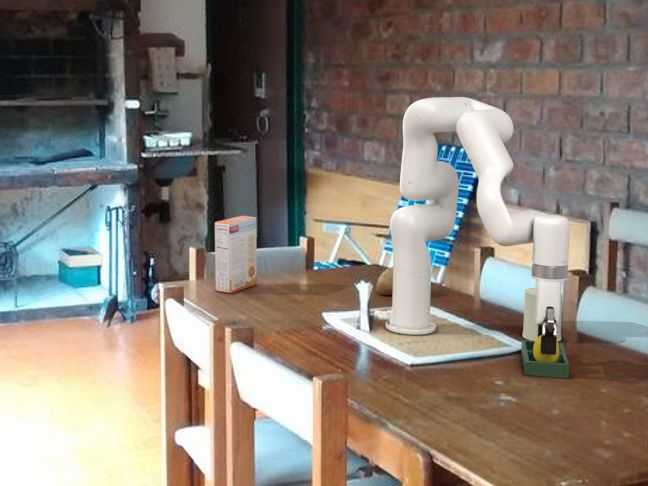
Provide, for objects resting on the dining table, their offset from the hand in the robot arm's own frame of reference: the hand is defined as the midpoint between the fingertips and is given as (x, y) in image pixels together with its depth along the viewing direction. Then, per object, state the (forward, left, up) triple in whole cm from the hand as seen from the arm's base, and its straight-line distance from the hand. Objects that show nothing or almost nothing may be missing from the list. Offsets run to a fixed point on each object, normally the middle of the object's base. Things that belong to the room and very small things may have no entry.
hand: (546, 347), depth 224 cm
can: (+1, +27, -5) cm, 28 cm away
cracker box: (-84, +59, -5) cm, 103 cm away
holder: (0, +4, -5) cm, 7 cm away
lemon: (0, 0, -5) cm, 5 cm away
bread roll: (-36, +65, -5) cm, 75 cm away
